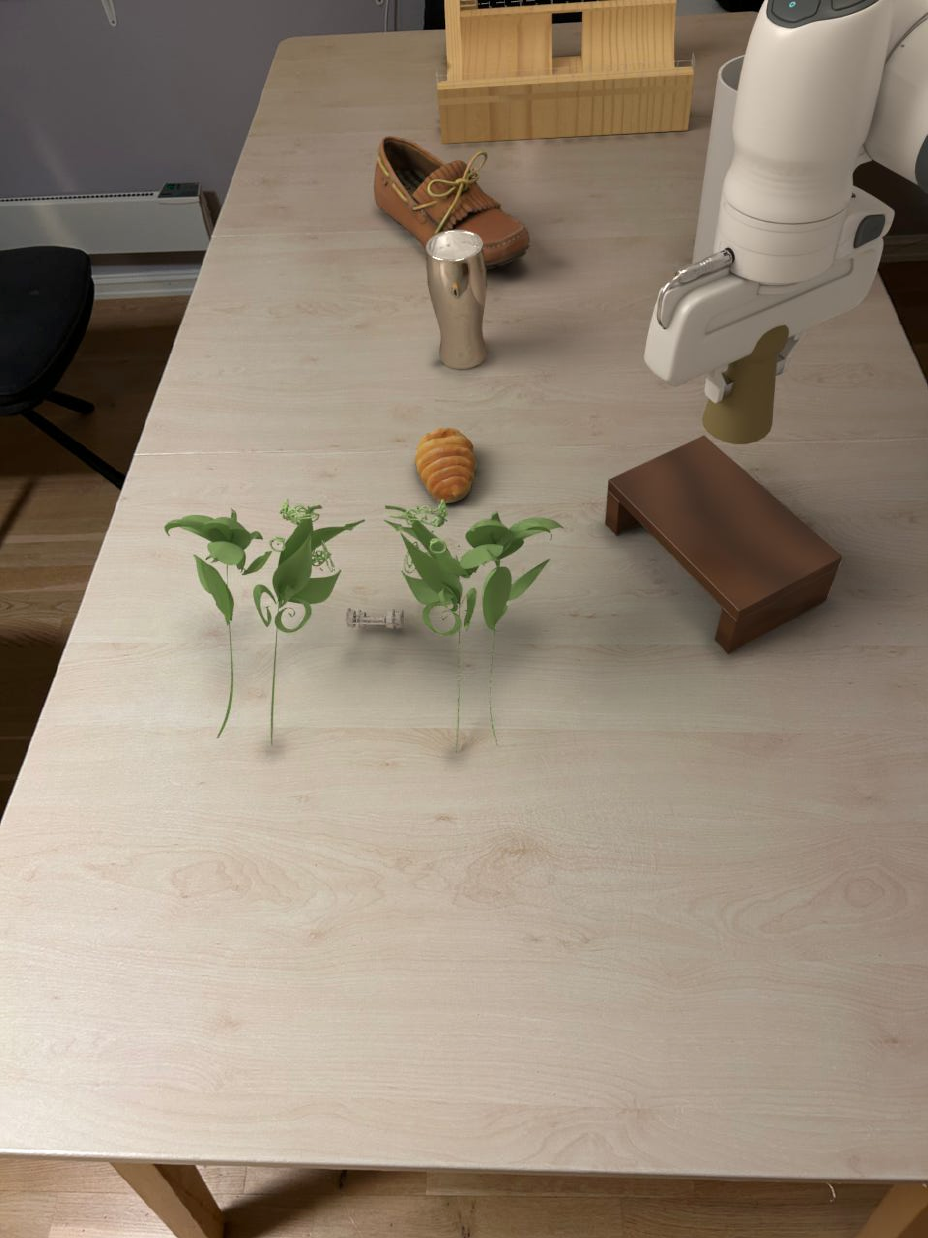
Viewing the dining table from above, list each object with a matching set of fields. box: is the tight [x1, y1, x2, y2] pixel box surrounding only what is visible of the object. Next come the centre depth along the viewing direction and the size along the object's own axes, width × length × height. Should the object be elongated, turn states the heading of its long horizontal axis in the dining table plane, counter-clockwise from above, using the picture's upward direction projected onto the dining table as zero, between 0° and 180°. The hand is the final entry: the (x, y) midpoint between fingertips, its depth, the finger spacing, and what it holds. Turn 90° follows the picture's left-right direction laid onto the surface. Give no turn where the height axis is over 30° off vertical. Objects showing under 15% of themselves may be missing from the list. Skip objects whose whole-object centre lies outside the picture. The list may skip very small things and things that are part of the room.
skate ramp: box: [435, 0, 696, 145], centre depth 157 cm, size 40×35×16 cm
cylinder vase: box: [691, 54, 745, 264], centre depth 115 cm, size 12×12×25 cm
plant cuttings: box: [164, 498, 564, 753], centre depth 84 cm, size 35×17×22 cm
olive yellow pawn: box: [701, 325, 789, 445], centre depth 78 cm, size 6×6×11 cm
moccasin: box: [373, 135, 531, 270], centre depth 130 cm, size 31×12×12 cm, turn 26°
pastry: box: [414, 427, 478, 504], centre depth 103 cm, size 9×7×4 cm
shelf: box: [604, 435, 844, 655], centre depth 92 cm, size 12×20×6 cm, turn 29°
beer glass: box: [425, 230, 488, 370], centre depth 112 cm, size 7×7×15 cm
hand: (745, 383), depth 79 cm, fingers closed on olive yellow pawn, 4 cm apart
